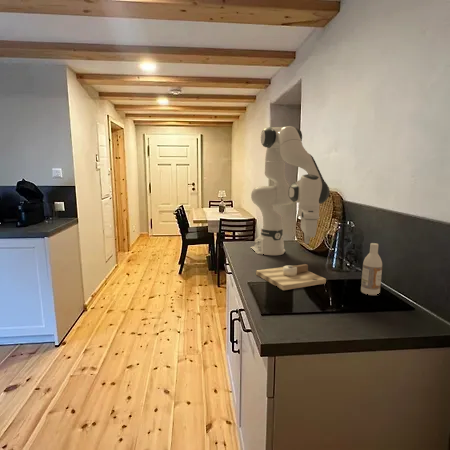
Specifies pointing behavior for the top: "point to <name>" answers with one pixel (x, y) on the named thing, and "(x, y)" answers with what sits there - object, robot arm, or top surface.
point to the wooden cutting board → (290, 278)
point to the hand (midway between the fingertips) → (306, 243)
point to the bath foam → (372, 272)
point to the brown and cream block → (294, 269)
